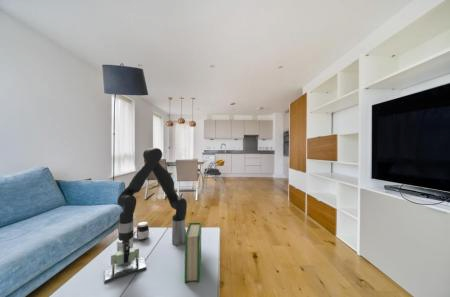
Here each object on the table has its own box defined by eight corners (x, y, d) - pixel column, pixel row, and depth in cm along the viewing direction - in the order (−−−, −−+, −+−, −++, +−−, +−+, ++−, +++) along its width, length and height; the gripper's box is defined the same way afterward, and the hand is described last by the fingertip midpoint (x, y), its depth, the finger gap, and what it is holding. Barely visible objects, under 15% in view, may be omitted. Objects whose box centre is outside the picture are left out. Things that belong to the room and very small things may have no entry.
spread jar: (150, 239, 140) (150, 223, 140) (134, 244, 132) (134, 228, 133) (144, 233, 149) (144, 219, 149) (129, 238, 141) (129, 223, 141)
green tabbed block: (138, 254, 109) (138, 246, 109) (139, 258, 105) (139, 249, 106) (110, 262, 101) (110, 253, 102) (111, 266, 98) (111, 257, 98)
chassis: (142, 259, 114) (142, 246, 114) (146, 269, 104) (146, 256, 104) (104, 270, 103) (104, 257, 103) (104, 283, 93) (104, 268, 93)
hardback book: (199, 282, 94) (199, 235, 95) (184, 283, 94) (185, 236, 94) (200, 261, 112) (201, 222, 112) (188, 262, 111) (189, 222, 112)
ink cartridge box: (126, 253, 120) (126, 230, 121) (133, 254, 119) (133, 231, 120) (116, 260, 112) (116, 236, 112) (123, 261, 111) (123, 237, 111)
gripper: (135, 232, 100) (134, 264, 100) (131, 224, 112) (131, 252, 112) (119, 236, 96) (118, 269, 96) (117, 226, 108) (117, 256, 107)
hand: (125, 259), depth 104 cm, fingers closed on green tabbed block, 4 cm apart
